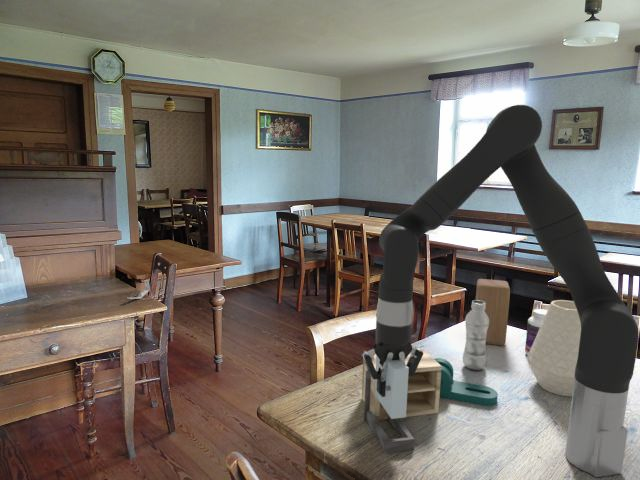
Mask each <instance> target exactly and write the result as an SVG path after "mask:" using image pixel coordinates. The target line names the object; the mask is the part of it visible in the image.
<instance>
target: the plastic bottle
mask: <svg viewBox="0 0 640 480" xmlns="http://www.w3.org/2000/svg"><path fill="white" fill-rule="evenodd" d="M485 306H486V303H485V302H484V301H479V300H476V299H474V300H472V301H471V305H470V307H471V309H470V310H469V312H467V314H466V316H465V318H464V319H465V320H464V321H465V331H466V332H465V346H464V351H463V353H462V363H463V365H464V367H466V368H467V369H469V370H473V371H481V370H483V369H484V368H485V367H486V366H487V361H488V360H487V354H486V353H487V350H486V348H487V347H486V344H485V343H486V335H487V330H488V326H489V318H488V316H487V314H486V313H485V311H484V310H485V309H486V307H485Z"/></svg>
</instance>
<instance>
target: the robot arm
mask: <svg viewBox="0 0 640 480" xmlns="http://www.w3.org/2000/svg"><path fill="white" fill-rule="evenodd" d="M542 129H543V121H542V117H541V115H540V114H539V113H538V111H537V110H536V109H535V108H533V107H532V106H530V105H528V104H519V103H518V104H512V105H510V106H507V107H505V108H504V109H501V110H500V111H499V112H498V113H497V114H496V115H495V116H494V118H493V119H492V120H491V121H490V122H489V124H488V126H487V128H486V131H485V133H484V134H483V136H482V137H481V138H480V139H479V140H478V142H477V143H476V144H475V145H474V146H473V147H472V149H470V151H469V152H467V154H465V156H464V157H463V158H461V159H460V160H459V161H458V162H457V163H456V164H455V165H454V166H452V167H451V168H450V169H449V170H448V171H446V173H445V174H443V175H442V176H441V177H440V178H438V180H437V181H435V183H433V184H432V185H431V186H430V187H429V188H428V189H427V190H426V191H425V192H424V193H423V194H422V195H420V197H418V199H417V200H416V201H415V202H414V203H413V204H412V205H410V206H409V207H408V208H406V209H405V210H404V211H403V212H401V213H400V214H399V215H397V216H396V217H395V218H393V219H392V220H391V221H390V222H389V223H388V224H386V226H384V227H383V229H382V230H381V232H380V234H379V238H378V239H379V240H378V243H379V246H380V249H381V250H382V251H383V263H382V264H383V266H382V267H383V268H382V272H381V273H380V276H379V282H378V299H377V300H378V301H377V305H376V313H375V318H376V320H375V321H376V323H375V342H374V345H373V347H372V349H370V350H368V351H367V350H362V351H361V356H362V359H364V362H365V364H366V367H367V369H368V372H369V374H370V375H371V377H372V378H373V379H377V392H378V393H379V394H380V395H381V397H385V389H386V381H385V379H386V373H387V371H388V362H391V360H399V361H403V362H404V363H405V359H406V358H407V356H408V355H409V354H410V358H409V360H408V362H407V365H406V366H407V367H408V368H409V373H408V376H413V375H414V373H415V371H416V369H417V367H418V365H419V363H420V360H421V358H422V356H423V352H422V351H421V349H420V347H418V346H413V345H412V335H413V334H412V332H413V331H412V330H413V318H414V317H413V313H414V308H413V307H414V306H413V295H414V277H415V276H414V275H415V273H416V269H417V263H418V258H419V253H420V252H419V240H420V238H422V236H424V235H425V234H427V232H429V231H434V230H436V229H439V227H441V225H443V224H444V223H445V222H446V221H447V220H448V219H449V218H450V217H452V215H453V214H454V213H455V212H457V211H458V209H460V208H461V207H462V205H463V204H464V203H466V201H467V200H468V199H469V198H470V197H471V196H472V195H473V194H474V193H475V192H476V191H477V190H478V188H480V187H481V186H482V185H483V183H484V182H486V180H488V179H489V178H490V177H492V175H493V174H494V173H495V172H497V171H498V170H499V169H500V168H501V170H502V171H503V173H504V175H505V176H506V178H507V179H508V181H509V182H510V185H511V186H512V189H513V191H514V193H515V196H516V198H517V201H518V202H519V205H520V207H521V209H522V212H523V214H524V215H525V218H526V219H527V222H528V224H529V227H530V229H531V231H532V233H533V235H534V238H535V239H536V241H537V243H538V245H539V247H540V248H541V251H542V253H543V254H544V256H546V259H547V260H548V261H549V263H550V264H551V265H552V267H553V268H554V269H555V271H556V272H557V274H558V275H559V276H560V277H561V278H562V280H563V281H564V283H565V285H566V287H567V289H568V291H569V293H570V295H571V297H572V301H574V303H575V306H576V309H577V311H578V314H579V318H580V322H581V335H580V343H579V351H578V359H577V364H576V368H575V377H574V385H573V393H572V397H571V402H570V409H569V412H570V413H569V419H568V426H567V427H568V428H567V435H566V436H567V438H566V445H565V452H564V454H565V458H566V460H567V461H568V462H569V463H570V464H572V465H573V466H574V467H576V468H577V469H580V470H581V471H584V472H586V473H588V474H591V475H592V476H593V477H594V478H600V477H607V476H613V475H618V474H622V472H623V465H624V459H625V452H626V451H625V450H626V444H627V439H628V432H629V431H628V428H627V427H625V426H624V424H625V417H626V416H625V415H626V412H627V411H626V410H627V404H628V395H629V389H630V384H631V380H632V378H633V375H634V371H635V365H636V360H637V359H636V358H637V353H638V346H639V339H640V338H639V337H640V336H639V335H640V334H639V333H640V332H639V327H638V325H637V321H636V319H635V317H634V315H633V313H632V312H631V311H630V309H629V308H628V306H627V305H626V304H625V303H624V301H623V300H622V298H621V297H620V295H619V294H618V292H617V290H616V289H615V288H614V285H613V284H612V282H611V281H610V279H609V277H608V276H607V274H606V272H605V270H604V268H603V265H602V262H601V258H600V255H599V252H598V250H597V246H596V244H595V240H594V238H593V236H592V233H591V232H590V229H589V227H588V225H587V222H586V220H585V218H584V217H583V215H582V213H581V211H580V209H579V207H578V205H577V204H576V202H575V201H574V199H573V198H572V197H571V196H570V195H569V193H568V192H567V191H566V190H565V189H564V188H563V187H562V186H561V185H560V184H559V183H558V182H557V181H556V180H555V178H554V177H553V176H552V175H551V174H550V173H549V171H548V170H547V168H546V167H545V165H544V163H543V161H542V159H541V156H540V154H539V152H538V150H537V147H536V145H535V144H536V143H537V142H538V140H539V138H540V136H541V134H542ZM375 354H376V355H377V357H378V358H379V361H378V370H377V371H376V370H375V368H374V365H373V362H372V361H374V355H375Z"/></svg>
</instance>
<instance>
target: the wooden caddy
mask: <svg viewBox="0 0 640 480" xmlns="http://www.w3.org/2000/svg"><path fill="white" fill-rule="evenodd" d="M420 350H421V351H422V352H423V356H422V358H421V360H420V363H419V365H418V367H417V369H416V371H415V373H414V375H413V376H408V390H407V407H406V417H405V418H407V417H413V416H414V417H415V416H416V417H417V416H424V415H433V414H439V410H440V398H441V397H440V383H441V368H442V366H441V365H440V364H439V363H438V362H437V361H435V360H434V359H435V358H433V357H432V356H431V355H430V354H429V353H428V352H427V351H425V349H422V348H421V349H420ZM409 358H410V354H409V355H408V356H407V358H406V359H405V364H406V365H407V362H408V360H409ZM362 359H363V358H362ZM362 362H363V363H362V380H361V381H362V384H361V385H362V387H361V391H362V392H361V400H362V402H363V404H364V409H363V411H364V412H363V420H364V421H365V422H366V423H367V424H368V426H369V428H370V429H371V431H372V433H373V435H374V437H375V438H376V439H377V442H378V444H379V445H380V446H381V448H382V450H383V451H384V454H392V453H400V452H407V451H413V450H415V437H414V436H413V434H412V433H411V432H410V431H409V430H408V428H407V427H406V425H405V424H404V423H403V421H402V419H401V418H395V419H391V417H390V416H389V415H388V413H387V412H386V410H385V409H384V407H383V406H382V404H381V403H380V401H379V400H378V398H377V397H376V395H375V379H373V378H372V377H371V375H370V374H369V372H368V369H367V367H366V364H365V362H364V359H363V360H362ZM372 362H373V365H374V368H375V370H376V354H375V355H374V361H372ZM379 420H388V421H389V423H390V424H391V426H392V427H393V428H394V430H395V431H396V433H397V434H398V437H399V438H393V439H390V438H389V436H388V435H387V433H386V431H385V430H384V429H383V427H382V426H381V424H380V422H379Z"/></svg>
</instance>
